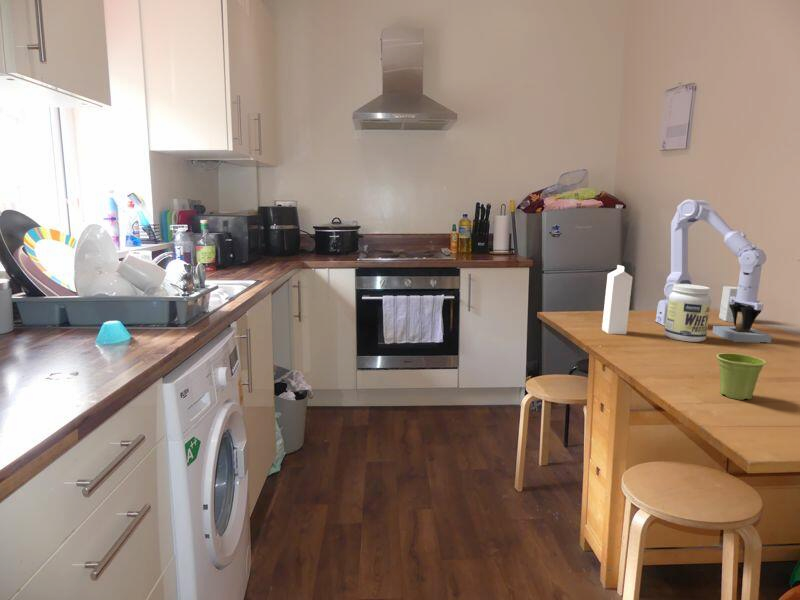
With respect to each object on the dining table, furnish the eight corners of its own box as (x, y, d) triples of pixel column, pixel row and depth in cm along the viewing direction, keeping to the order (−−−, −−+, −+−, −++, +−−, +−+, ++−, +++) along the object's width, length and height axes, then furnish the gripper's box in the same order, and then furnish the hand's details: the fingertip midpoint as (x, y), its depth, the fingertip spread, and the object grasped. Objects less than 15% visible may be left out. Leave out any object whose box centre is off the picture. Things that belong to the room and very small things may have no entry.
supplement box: (746, 323, 211) (751, 289, 209) (725, 321, 212) (729, 288, 210) (739, 319, 218) (743, 286, 216) (718, 317, 219) (722, 285, 217)
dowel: (739, 335, 183) (742, 313, 182) (731, 332, 187) (734, 311, 186) (751, 335, 183) (754, 314, 182) (743, 332, 187) (746, 311, 186)
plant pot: (710, 397, 125) (715, 359, 124) (712, 386, 133) (717, 350, 131) (760, 406, 120) (766, 367, 119) (759, 394, 128) (765, 357, 127)
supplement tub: (680, 343, 175) (687, 289, 172) (655, 333, 187) (661, 283, 184) (715, 342, 177) (722, 289, 174) (688, 333, 189) (694, 283, 186)
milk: (607, 333, 184) (614, 266, 180) (601, 329, 190) (608, 264, 186) (626, 334, 184) (633, 267, 180) (619, 330, 190) (626, 264, 186)
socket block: (733, 341, 179) (734, 334, 179) (712, 333, 191) (713, 325, 191) (770, 343, 179) (771, 335, 179) (747, 334, 191) (748, 327, 191)
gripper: (775, 290, 175) (768, 333, 178) (746, 283, 189) (740, 323, 192) (752, 289, 175) (746, 332, 177) (725, 282, 189) (720, 322, 192)
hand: (742, 327), depth 185 cm, fingers closed on dowel, 4 cm apart
